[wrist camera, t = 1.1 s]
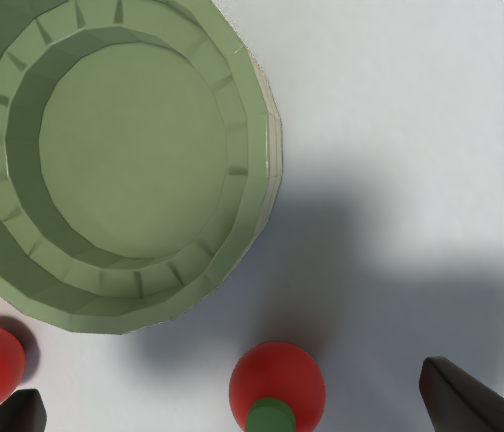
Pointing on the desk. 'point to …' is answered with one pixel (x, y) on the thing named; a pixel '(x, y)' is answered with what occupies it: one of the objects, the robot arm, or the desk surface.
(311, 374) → the red round piece
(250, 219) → the bowl
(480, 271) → the desk surface
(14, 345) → the red toy tomato
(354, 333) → the desk surface
